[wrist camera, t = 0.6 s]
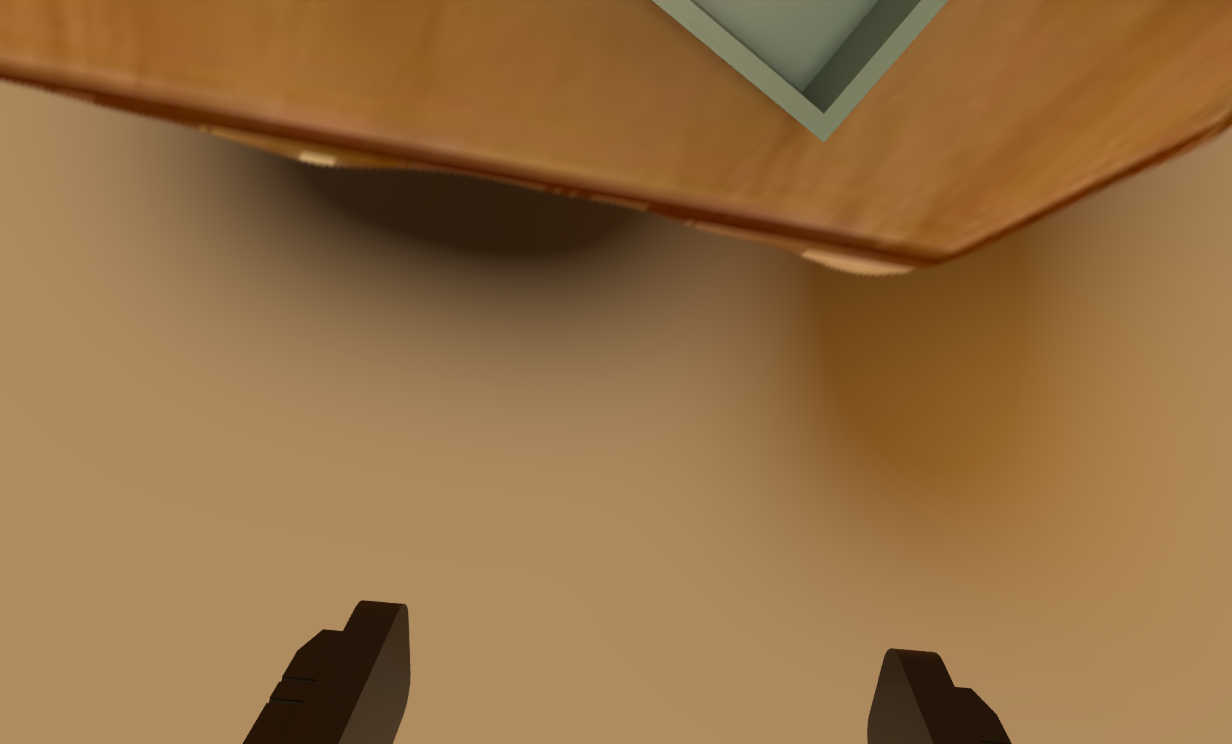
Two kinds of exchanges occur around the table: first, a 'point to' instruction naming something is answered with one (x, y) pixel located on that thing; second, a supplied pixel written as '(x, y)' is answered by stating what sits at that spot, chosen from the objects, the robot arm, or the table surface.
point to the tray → (808, 47)
